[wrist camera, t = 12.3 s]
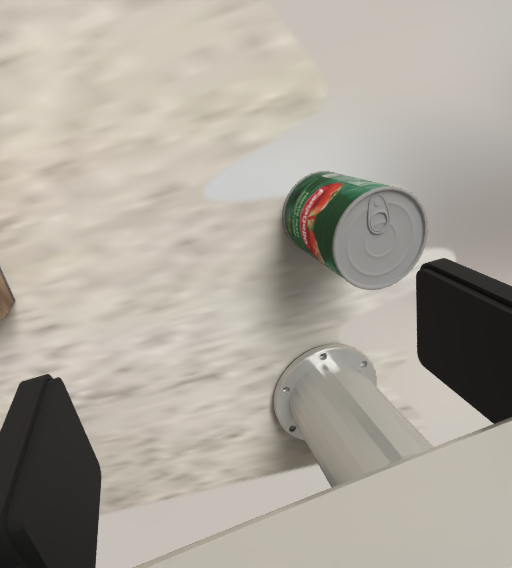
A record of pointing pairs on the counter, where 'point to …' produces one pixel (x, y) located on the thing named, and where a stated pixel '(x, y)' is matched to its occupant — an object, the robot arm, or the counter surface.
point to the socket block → (5, 296)
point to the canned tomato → (357, 227)
